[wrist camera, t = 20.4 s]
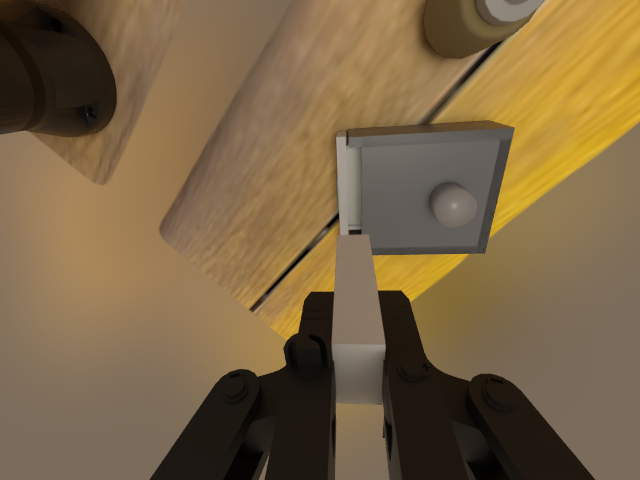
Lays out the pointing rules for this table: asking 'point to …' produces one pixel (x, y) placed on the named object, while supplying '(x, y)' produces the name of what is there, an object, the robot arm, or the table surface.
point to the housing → (430, 185)
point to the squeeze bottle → (473, 23)
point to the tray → (348, 185)
